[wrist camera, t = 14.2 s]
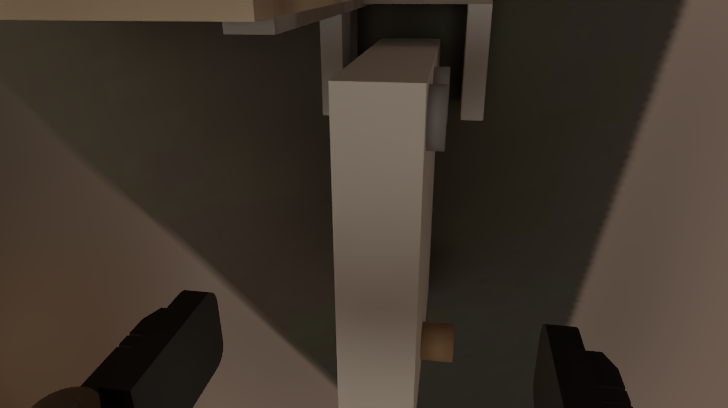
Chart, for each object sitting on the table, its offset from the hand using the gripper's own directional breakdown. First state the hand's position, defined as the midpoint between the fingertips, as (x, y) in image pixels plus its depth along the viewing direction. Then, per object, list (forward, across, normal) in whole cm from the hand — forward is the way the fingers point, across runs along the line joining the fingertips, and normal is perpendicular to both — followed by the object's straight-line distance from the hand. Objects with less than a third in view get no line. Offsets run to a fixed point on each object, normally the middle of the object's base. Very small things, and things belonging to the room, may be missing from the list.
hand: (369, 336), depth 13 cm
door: (+12, 0, 0) cm, 12 cm away
